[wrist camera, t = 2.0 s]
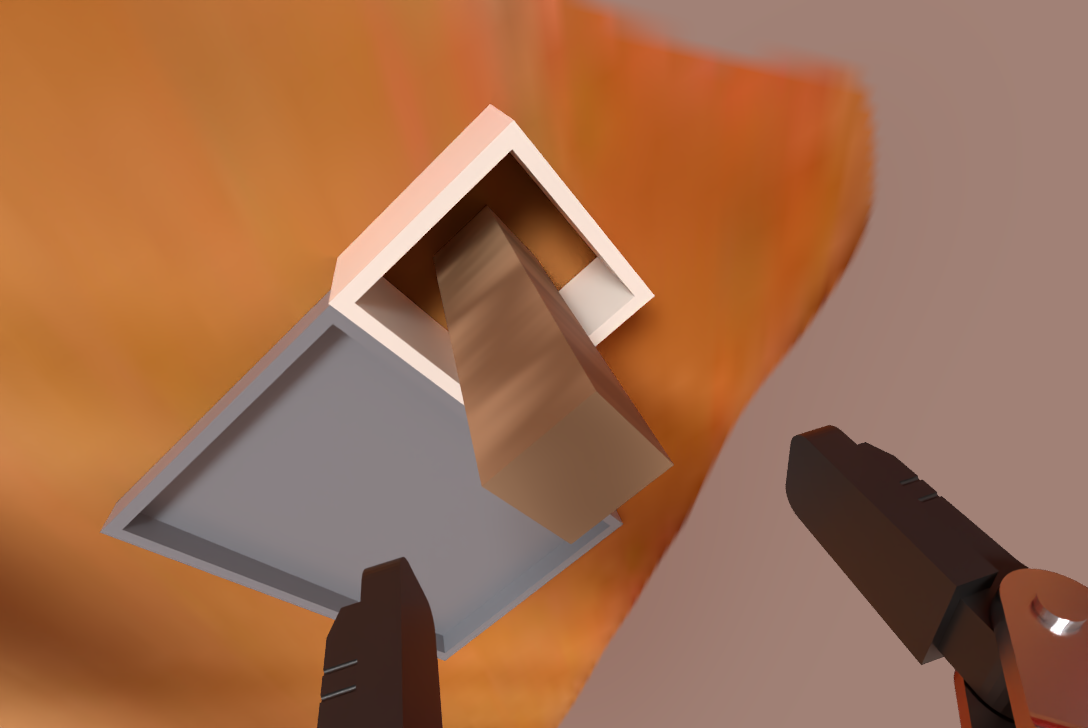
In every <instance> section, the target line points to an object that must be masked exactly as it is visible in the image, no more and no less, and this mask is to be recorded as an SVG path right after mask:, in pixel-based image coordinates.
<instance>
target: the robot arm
mask: <svg viewBox="0 0 1088 728" xmlns="http://www.w3.org/2000/svg"><path fill="white" fill-rule="evenodd" d="M786 493H787V497H788V500H789V503H790V505H791V507H792V509H793V511H794V512H795V514H796V515H797V516H798V518H799V519H800V520H801V521H802V522H803V524H804V525H805V526H806V527H807V528H808V529H809V531H810V532H811V533H812V534H813V536H814V537H815V538H816V539H817V540H818V542H819V543H820V544H821V545H822V546H823V548H824V549H825V550H826V551H827V552H828V554H829V555H830V556H831V557H832V558H833V560H834V561H835V562H836V563H837V564H838V566H839V567H840V568H841V569H842V570H843V572H844V573H845V574H846V575H847V576H848V578H849V579H850V580H851V581H852V582H853V584H854V585H855V586H856V587H857V588H858V590H859V591H860V592H861V593H862V594H863V596H864V597H865V598H866V599H867V600H868V602H869V603H870V604H871V605H872V606H873V607H874V609H875V610H876V611H877V612H878V614H879V615H880V616H881V617H882V618H883V620H884V621H885V622H886V623H887V624H888V626H889V627H890V628H891V629H892V630H893V632H894V633H895V634H896V635H897V636H898V638H899V639H900V640H901V641H902V642H903V643H904V645H905V646H906V647H907V648H908V650H909V651H910V652H911V653H912V654H913V656H914V657H915V658H916V659H917V660H918V662H919V663H920V664H921V665H923V664H925V663H928V662H931V661H933V660H936V659H939V658H942V657H945V658H946V659H947V661H948V662H949V663H950V664H951V665H952V666H953V667H954V669H955V672H954V685H955V692H956V698H957V704H958V710H959V717H960V723H961V728H1088V587H1086V586H1084V585H1083V584H1081V583H1079V582H1077V581H1075V580H1073V579H1071V578H1069V577H1066V576H1064V575H1061V574H1058V573H1055V572H1051V571H1048V570H1042V569H1031V568H1028V567H1027V566H1025V565H1023V564H1022V563H1020V562H1019V561H1018V560H1016V559H1015V558H1014V557H1013V556H1012V555H1010V554H1009V553H1008V552H1007V551H1006V550H1005V549H1003V548H1002V547H1001V546H1000V545H998V544H997V543H996V542H995V541H994V540H993V539H992V538H990V537H989V536H988V535H987V534H986V533H985V532H983V531H982V530H981V529H980V528H978V527H977V526H976V525H975V524H974V523H973V522H972V521H970V520H969V519H968V518H967V517H966V516H965V515H963V514H962V513H961V512H960V511H959V510H957V509H956V508H955V507H954V506H952V504H950V503H949V502H948V501H947V500H946V499H945V498H943V497H942V496H941V497H939V496H938V495H937V492H936V491H935V490H934V489H933V488H931V487H930V486H929V485H928V484H927V483H926V482H924V481H923V480H919V479H918V476H917V475H916V474H915V473H914V472H912V470H910V469H909V468H908V467H907V466H905V465H904V464H903V463H902V462H901V461H900V460H898V459H897V458H896V457H895V456H893V455H891V454H889V453H887V452H885V451H882V450H881V449H879V448H877V447H874V446H872V445H870V444H868V443H866V442H865V443H861V444H858V445H857V444H856V443H855V442H853V441H852V440H851V439H850V438H849V437H848V436H847V435H846V434H844V433H843V432H842V431H841V430H840V429H838V428H837V427H835V426H831V425H828V426H825V427H821V428H818V429H815V430H812V431H808V432H805V433H802V434H799V435H796V436H794V437H793V438H792V440H791V446H790V454H789V462H788V470H787V478H786ZM323 670H324V676H323V678H322V687H321V699H322V701H321V703H320V706H319V716H318V725H317V728H443V727H442V714H441V700H440V687H439V673H438V660H437V646H436V633H435V625H434V620H433V615H432V611H431V608H430V605H429V602H428V600H427V598H426V596H425V594H424V592H423V590H422V588H421V586H420V584H419V582H418V580H417V578H416V576H415V574H414V572H413V570H412V568H411V566H410V564H409V562H408V561H407V559H406V558H405V557H400V558H397V559H394V560H391V561H388V562H384V563H381V564H378V565H375V566H372V567H368V568H366V569H364V571H363V573H362V580H361V598H360V602H357V603H354V604H351V605H348V606H345V607H342V608H341V609H340V611H339V613H338V615H337V617H336V619H335V622H334V624H333V626H332V628H331V630H330V632H329V634H328V637H327V640H326V649H325V659H324V668H323Z"/></svg>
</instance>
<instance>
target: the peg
mask: <svg viewBox="0 0 1088 728" xmlns="http://www.w3.org/2000/svg"><path fill="white" fill-rule="evenodd" d="M433 261H434V266H435V270H436V275H437V280H438V284H439V289H440V294H441V298H442V303H443V308H444V312H445V317H446V322H447V326H448V331H449V336H450V341H451V345H452V350H453V355H454V359H455V364H456V369H457V373H458V378H459V383H460V387H461V392H462V397H463V401H464V406H465V411H466V415H467V420H468V425H469V429H470V434H471V439H472V444H473V448H474V453H475V458H476V462H477V467H478V472H479V476H480V481H481V486H482V487H483V488H485V489H486V490H488V491H489V492H491V493H493V494H494V495H496V496H497V497H499V498H500V499H502V500H503V501H505V502H506V503H508V504H509V505H511V506H513V507H514V508H516V509H517V510H519V511H520V512H522V513H523V514H525V515H526V516H528V517H530V518H531V519H533V520H534V521H536V522H537V523H539V524H540V525H542V526H543V527H545V528H546V529H548V530H550V531H551V532H553V533H554V534H556V535H557V536H559V537H560V538H562V539H563V540H565V541H567V542H568V543H570V544H572V543H574V542H575V541H576V540H577V539H579V538H580V537H581V536H583V535H584V534H585V533H586V532H588V531H589V530H590V529H592V528H593V527H594V526H596V525H597V524H598V523H599V522H601V521H602V520H603V519H605V518H606V517H607V516H608V515H610V514H611V513H612V512H614V511H615V510H616V509H617V508H619V507H620V506H621V505H623V504H624V503H625V502H626V501H628V500H629V499H630V498H632V497H633V496H634V495H636V494H637V493H638V492H639V491H641V490H642V489H643V488H645V487H646V486H647V485H648V484H650V483H651V482H652V481H654V480H655V479H656V478H657V477H659V476H660V475H661V474H663V473H664V472H665V471H667V470H668V469H669V468H670V467H672V466H673V465H674V464H673V463H672V461H671V460H670V458H669V457H668V455H667V454H666V452H665V451H664V449H663V448H662V446H661V445H660V443H659V442H658V440H657V439H656V437H655V436H654V434H653V433H652V431H651V430H650V428H649V427H648V425H647V424H646V422H645V421H644V419H643V418H642V416H641V415H640V413H639V412H638V410H637V409H636V407H635V406H634V404H633V403H632V401H631V400H630V398H629V397H628V395H627V394H626V392H625V391H624V389H623V388H622V386H621V385H620V383H619V382H618V380H617V379H616V377H615V376H614V374H613V373H612V371H611V370H610V368H609V367H608V365H607V364H606V362H605V361H604V359H603V358H602V356H601V355H600V353H599V352H598V350H597V349H596V347H595V346H594V344H593V343H592V341H591V340H590V338H589V337H588V335H587V334H586V332H585V331H584V329H583V328H582V326H581V325H580V323H579V322H578V320H577V319H576V317H575V316H574V314H573V313H572V311H571V310H570V308H569V307H568V305H567V304H566V302H565V301H564V299H563V298H562V296H561V295H560V293H559V292H558V290H557V289H556V287H555V286H554V284H553V283H552V281H551V280H550V278H549V277H548V275H547V274H546V272H545V271H544V269H543V268H542V266H541V265H540V263H539V262H538V260H537V259H536V257H535V256H534V255H533V254H532V253H531V252H530V251H529V250H528V248H527V247H526V246H525V245H524V244H523V243H522V242H521V241H520V240H519V239H518V238H517V237H516V236H515V235H514V233H513V232H512V231H511V230H510V229H509V228H508V227H507V226H506V225H505V224H504V223H503V222H502V221H501V220H500V218H499V217H498V216H497V215H496V214H495V213H494V212H493V211H492V210H491V209H490V208H489V207H488V206H487V205H486V206H485V207H484V208H483V209H482V210H481V211H480V212H479V213H478V214H477V215H476V216H475V217H474V218H473V219H472V220H471V221H470V222H469V223H468V224H466V225H465V226H464V227H463V228H462V229H461V230H460V231H459V232H458V233H457V234H456V235H455V236H454V237H453V238H452V239H451V240H450V241H449V242H448V243H447V244H446V245H445V246H444V247H443V248H442V249H441V250H439V251H438V252H437V253H436V254H435V255H434V256H433Z"/></svg>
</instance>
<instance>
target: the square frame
mask: <svg viewBox="0 0 1088 728" xmlns="http://www.w3.org/2000/svg"><path fill="white" fill-rule="evenodd" d="M509 152H510V153H511V154H512V156H513V157H514V158H515V159H516V160H517V161H518V163H519V164H520V165H521V166H522V167H523V169H524V170H525V171H526V172H527V173H528V175H529V176H530V177H531V178H532V179H533V181H534V182H535V183H536V184H537V185H538V186H539V188H540V189H541V190H542V191H543V192H544V194H545V195H546V196H547V197H548V198H549V200H550V201H551V202H552V203H553V204H554V206H555V207H556V208H557V209H558V210H559V211H560V213H561V214H562V215H563V216H564V217H565V219H566V220H567V221H568V222H569V223H570V225H571V226H572V227H573V228H574V229H575V231H576V232H577V233H578V234H579V235H580V236H581V238H582V239H583V240H584V241H585V242H586V244H587V245H588V246H589V247H590V248H591V250H592V251H593V252H594V253H595V254H596V256H597V258H595V259H594V260H593V261H592V262H591V263H590V264H589V265H588V266H586V267H585V268H584V269H583V270H582V271H581V272H580V273H579V274H577V275H576V276H575V277H574V278H573V279H572V280H571V281H570V282H569V283H567V284H566V285H565V286H564V287H563V288H562V289H561V290H560V291H558V292H559V293H560V295H561V296H562V298H563V299H564V301H565V302H566V304H567V305H568V307H569V308H570V310H571V311H572V313H573V314H574V316H575V317H576V319H577V320H578V322H579V323H580V325H581V326H582V328H583V329H584V331H585V332H586V334H587V335H588V337H589V338H590V340H591V341H592V343H593V344H594V346H597V345H598V344H599V343H600V342H601V341H602V340H604V339H605V338H606V337H607V336H608V335H609V334H611V333H612V332H613V331H614V330H615V329H616V328H618V327H619V326H620V325H621V324H622V323H623V322H625V321H626V320H627V319H628V318H629V317H630V316H632V315H633V314H634V313H635V312H636V311H637V310H639V309H640V308H641V307H642V306H643V305H644V304H646V303H647V302H648V301H649V300H650V299H652V298H653V297H654V295H653V293H652V292H651V291H650V290H649V288H648V287H647V286H646V285H645V283H644V282H643V281H642V280H641V278H640V277H639V276H638V275H637V273H636V272H635V271H634V270H633V268H632V267H631V266H630V265H629V263H628V262H627V261H626V260H625V258H624V257H623V256H622V255H621V253H620V252H619V251H618V250H617V248H616V247H615V246H614V245H613V243H612V242H611V241H610V240H609V238H608V237H607V236H606V235H605V233H604V232H603V231H602V230H601V228H600V227H599V226H598V225H597V223H596V222H595V221H594V220H593V218H592V217H591V216H590V215H589V213H588V212H587V211H586V210H585V209H584V207H583V206H582V205H581V204H580V202H579V201H578V200H577V199H576V197H575V196H574V195H573V194H572V192H571V191H570V190H569V189H568V187H567V186H566V185H565V184H564V182H563V181H562V180H561V179H560V177H559V176H558V175H557V174H556V172H555V171H554V170H553V169H552V167H551V166H550V165H549V164H548V162H547V161H546V160H545V159H544V157H543V156H542V155H541V154H540V152H539V151H538V150H537V149H536V147H535V146H534V145H533V144H532V142H531V141H530V140H529V139H528V137H527V136H526V135H525V134H524V132H523V131H522V130H521V129H520V127H519V126H518V125H517V124H516V122H515V121H514V120H513V119H511V118H510V117H508V116H507V115H505V114H504V113H503V112H501V111H500V110H498V109H497V108H495V107H494V106H492V105H491V104H490V105H489V106H488V107H487V108H486V109H485V110H484V111H483V112H482V113H481V114H480V115H479V116H478V117H477V118H476V119H475V120H474V121H473V122H472V123H471V124H470V125H469V126H468V127H467V128H466V129H465V130H464V131H463V132H462V133H461V134H460V135H459V136H458V137H457V138H456V139H455V140H454V141H453V142H452V143H451V144H450V145H449V146H448V147H447V148H446V149H445V150H444V151H443V152H442V153H441V154H440V155H439V156H438V157H437V158H436V159H435V160H434V161H433V162H432V163H431V164H430V165H429V166H428V167H427V168H426V169H425V170H424V171H423V172H422V173H421V174H420V175H419V176H418V177H417V178H416V179H415V180H414V181H413V182H412V183H411V184H410V185H409V186H408V187H407V188H406V189H405V190H404V191H403V192H402V193H401V194H400V195H399V196H398V197H397V198H396V199H395V200H394V201H393V202H392V203H391V204H390V205H389V206H388V207H387V208H386V209H385V210H384V211H383V212H382V213H381V214H380V215H379V216H378V217H377V218H376V219H375V220H374V221H373V222H372V223H371V224H370V225H369V226H368V227H367V228H366V229H365V231H364V232H363V233H362V234H361V235H360V236H359V237H358V238H357V239H356V240H355V241H354V242H353V243H352V244H351V245H350V246H349V247H348V248H347V249H346V250H345V251H344V252H343V253H342V254H341V255H340V256H339V257H338V259H337V263H336V268H335V273H334V278H333V283H332V288H331V293H330V298H329V303H328V304H329V305H331V306H332V307H333V308H335V309H336V310H338V311H339V312H340V313H342V314H343V315H344V316H346V317H347V318H348V319H350V320H351V321H352V322H354V323H355V324H356V325H358V326H359V327H360V328H362V329H363V330H364V331H366V332H367V333H368V334H370V335H371V336H372V337H374V338H375V339H376V340H378V341H379V342H380V343H382V344H383V345H384V346H386V347H387V348H388V349H390V350H391V351H392V352H394V353H395V354H396V355H398V356H399V357H400V358H402V359H403V360H404V361H406V362H407V363H408V364H410V365H411V366H412V367H414V368H415V369H416V370H418V371H419V372H420V373H422V374H423V375H424V376H426V377H427V378H428V379H430V380H431V381H432V382H434V383H435V384H436V385H438V386H439V387H440V388H442V389H443V390H444V391H446V392H447V393H448V394H450V395H451V396H452V397H454V398H455V399H456V400H458V401H459V402H460V403H462V404H463V405H464V401H463V397H462V392H461V387H460V383H459V378H458V373H457V369H456V364H455V359H454V355H453V350H452V345H451V341H450V336H449V332H448V331H447V330H446V329H445V328H443V327H442V326H441V325H440V324H439V323H437V322H436V321H435V320H434V319H433V318H431V317H430V316H429V315H428V314H427V313H425V312H424V311H423V310H422V309H421V308H419V307H418V306H417V305H416V304H415V303H413V302H412V301H411V300H410V299H409V298H407V297H406V296H405V295H404V294H403V293H402V292H400V291H399V290H398V289H397V288H396V287H394V286H393V285H392V284H391V283H390V282H388V281H387V280H386V279H385V278H384V277H382V276H383V275H384V274H385V273H386V272H387V271H388V270H389V269H390V268H391V267H392V266H393V265H394V264H395V263H396V262H397V261H398V260H399V259H400V258H401V257H402V256H403V255H404V254H405V253H406V252H407V251H408V250H409V249H410V248H411V247H412V246H413V245H415V244H416V243H417V242H418V241H419V240H420V239H421V238H422V237H423V236H424V235H425V234H426V233H427V232H428V231H429V230H430V229H431V228H432V227H433V226H434V225H435V224H436V223H437V222H438V221H439V220H440V219H441V218H442V217H443V216H444V215H445V214H446V213H447V212H448V211H449V210H450V209H451V208H452V207H453V206H454V205H455V204H456V203H458V202H459V201H460V200H461V199H462V198H463V197H464V196H465V195H466V194H467V193H468V192H469V191H470V190H471V189H472V188H473V187H474V186H475V185H476V184H477V183H478V182H479V181H480V180H481V179H482V178H483V177H484V176H485V175H486V174H487V173H488V172H489V171H490V170H491V169H492V168H493V167H494V166H495V165H496V164H497V163H498V162H499V161H500V160H502V159H503V158H504V157H505V156H506V155H507V154H508V153H509Z"/></svg>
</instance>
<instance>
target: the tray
mask: <svg viewBox="0 0 1088 728" xmlns="http://www.w3.org/2000/svg"><path fill="white" fill-rule="evenodd" d="M330 293H331V290H330V291H329V292H328V293H327V294H326V295H325V296H324V297H323V298H322V299H321V300H320V301H319V302H318V303H317V304H316V305H315V306H314V307H313V308H312V309H311V310H310V311H309V312H308V313H307V314H306V315H305V316H304V317H303V318H302V319H301V320H300V321H299V322H298V323H297V324H296V325H295V326H294V327H293V328H292V329H291V330H290V331H289V332H288V333H287V334H286V335H285V336H284V337H283V338H282V339H281V340H280V341H279V342H278V343H277V344H276V345H275V346H274V347H273V348H272V349H271V350H270V351H269V352H268V353H267V354H266V355H265V356H264V357H263V358H262V359H261V360H260V361H259V362H258V363H257V364H256V365H255V366H254V367H253V368H252V369H251V370H250V371H249V372H248V373H246V374H245V375H244V376H243V377H242V378H241V379H240V380H239V381H238V382H237V383H236V384H235V385H234V386H233V387H232V388H231V389H230V390H229V391H228V392H227V393H226V394H225V395H224V396H223V397H222V398H221V399H220V400H219V401H218V402H217V403H216V404H215V405H214V406H213V407H212V408H211V409H210V410H209V411H208V412H207V413H206V414H205V415H204V416H203V417H202V418H201V419H200V420H199V421H198V422H197V423H196V424H195V425H194V426H193V427H192V428H191V429H190V430H189V431H188V432H187V433H186V434H185V435H184V436H183V437H182V438H181V439H180V440H179V441H178V442H177V443H176V444H175V445H174V446H173V447H172V448H171V449H170V450H169V451H168V452H167V453H166V454H165V455H164V456H163V457H162V458H161V459H160V460H159V461H158V462H157V463H156V464H155V465H154V466H153V467H152V468H151V469H150V470H149V471H148V472H147V473H146V474H145V475H144V476H143V477H142V478H141V479H140V480H139V481H138V482H137V483H136V484H135V485H134V486H133V487H132V488H131V489H130V490H129V491H128V492H127V493H126V494H125V495H124V496H123V497H122V498H121V499H120V500H119V501H118V502H117V503H116V505H115V506H114V508H113V510H112V512H111V514H110V515H109V517H108V519H107V521H106V522H105V524H104V526H103V528H102V529H101V531H100V532H101V533H103V534H106V535H109V536H111V537H114V538H117V539H119V540H122V541H125V542H127V543H130V544H133V545H136V546H138V547H141V548H144V549H146V550H149V551H152V552H154V553H157V554H160V555H162V556H165V557H168V558H170V559H173V560H176V561H178V562H181V563H184V564H187V565H189V566H192V567H195V568H197V569H200V570H203V571H205V572H208V573H211V574H213V575H216V576H219V577H221V578H224V579H227V580H230V581H232V582H235V583H238V584H240V585H243V586H246V587H248V588H251V589H254V590H256V591H259V592H262V593H264V594H267V595H270V596H272V597H275V598H278V599H281V600H283V601H286V602H289V603H291V604H294V605H297V606H299V607H302V608H305V609H307V610H310V611H313V612H315V613H318V614H321V615H324V616H326V617H329V618H332V619H334V620H335V619H336V617H337V615H338V613H339V611H340V609H341V608H342V607H345V606H348V605H351V604H354V603H357V602H360V598H361V580H362V573H363V571H364V569H366V568H368V567H372V566H375V565H378V564H381V563H384V562H388V561H391V560H394V559H397V558H400V557H405V558H406V559H407V561H408V562H409V564H410V566H411V568H412V570H413V572H414V574H415V576H416V578H417V580H418V582H419V584H420V586H421V588H422V590H423V592H424V594H425V596H426V598H427V600H428V602H429V605H430V608H431V611H432V615H433V620H434V625H435V633H436V646H437V658H439V659H442V660H444V661H445V660H447V659H448V658H449V657H450V656H452V655H453V654H454V653H456V652H457V651H458V650H460V649H461V648H462V647H463V646H465V645H466V644H467V643H469V642H470V641H471V640H473V639H474V638H475V637H477V636H478V635H479V634H480V633H482V632H483V631H484V630H486V629H487V628H488V627H490V626H491V625H492V624H493V623H495V622H496V621H497V620H499V619H500V618H501V617H503V616H504V615H505V614H507V613H508V612H509V611H510V610H512V609H513V608H514V607H516V606H517V605H518V604H520V603H521V602H522V601H523V600H525V599H526V598H527V597H529V596H530V595H531V594H533V593H534V592H535V591H537V590H538V589H539V588H540V587H542V586H543V585H544V584H546V583H547V582H548V581H550V580H551V579H552V578H553V577H555V576H556V575H557V574H559V573H560V572H561V571H563V570H564V569H565V568H566V567H568V566H569V565H570V564H572V563H573V562H574V561H576V560H577V559H578V558H580V557H581V556H582V555H583V554H585V553H586V552H587V551H589V550H590V549H591V548H593V547H594V546H595V545H596V544H598V543H599V542H600V541H602V540H603V539H604V538H606V537H607V536H608V535H610V534H611V533H612V532H613V531H615V530H616V529H617V528H619V527H620V526H621V525H623V523H622V521H621V519H620V517H619V515H618V513H617V510H615V511H614V512H612V513H611V514H610V515H608V516H607V517H606V518H605V519H603V520H602V521H601V522H599V523H598V524H597V525H596V526H594V527H593V528H592V529H590V530H589V531H588V532H586V533H585V534H584V535H583V536H581V537H580V538H579V539H577V540H576V541H575V542H574V543H572V544H570V543H568V542H567V541H565V540H563V539H562V538H560V537H559V536H557V535H556V534H554V533H553V532H551V531H550V530H548V529H546V528H545V527H543V526H542V525H540V524H539V523H537V522H536V521H534V520H533V519H531V518H530V517H528V516H526V515H525V514H523V513H522V512H520V511H519V510H517V509H516V508H514V507H513V506H511V505H509V504H508V503H506V502H505V501H503V500H502V499H500V498H499V497H497V496H496V495H494V494H493V493H491V492H489V491H488V490H486V489H485V488H483V487H482V486H481V481H480V476H479V472H478V467H477V462H476V458H475V453H474V448H473V444H472V439H471V434H470V429H469V425H468V420H467V415H466V411H465V406H464V405H463V404H462V403H460V402H459V401H458V400H456V399H455V398H454V397H452V396H451V395H450V394H448V393H447V392H446V391H444V390H443V389H442V388H440V387H439V386H438V385H436V384H435V383H434V382H432V381H431V380H430V379H428V378H427V377H426V376H424V375H423V374H422V373H420V372H419V371H418V370H416V369H415V368H414V367H412V366H411V365H410V364H408V363H407V362H406V361H404V360H403V359H402V358H400V357H399V356H398V355H396V354H395V353H394V352H392V351H391V350H390V349H388V348H387V347H386V346H384V345H383V344H382V343H380V342H379V341H378V340H376V339H375V338H374V337H372V336H371V335H370V334H368V333H367V332H366V331H364V330H363V329H362V328H360V327H359V326H358V325H356V324H355V323H354V322H352V321H351V320H350V319H348V318H347V317H346V316H344V315H343V314H342V313H340V312H339V311H338V310H336V309H335V308H333V307H332V306H331V305H329V304H328V303H329V298H330Z"/></svg>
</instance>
